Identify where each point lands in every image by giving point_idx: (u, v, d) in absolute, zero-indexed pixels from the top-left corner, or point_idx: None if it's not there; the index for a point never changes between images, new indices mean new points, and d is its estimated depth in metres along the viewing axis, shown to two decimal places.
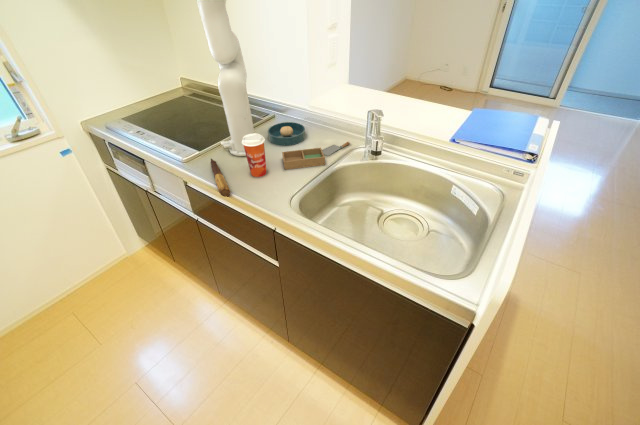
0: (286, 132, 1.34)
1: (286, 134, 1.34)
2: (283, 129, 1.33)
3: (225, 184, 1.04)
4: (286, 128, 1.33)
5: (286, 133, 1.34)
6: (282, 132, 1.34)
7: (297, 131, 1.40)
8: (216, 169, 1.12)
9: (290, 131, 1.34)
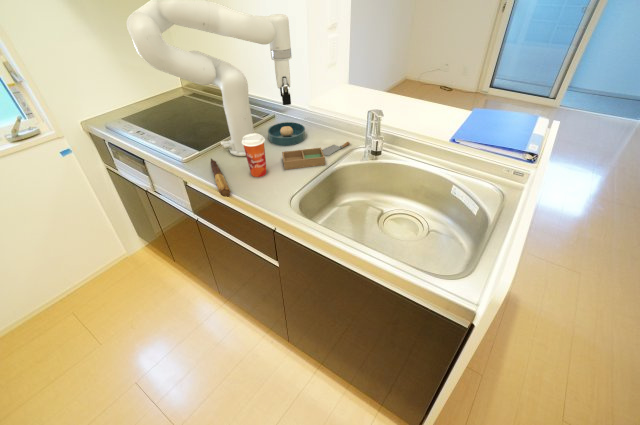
0: (286, 132, 1.34)
1: (286, 134, 1.34)
2: (283, 129, 1.33)
3: (225, 184, 1.04)
4: (286, 128, 1.33)
5: (286, 133, 1.34)
6: (282, 132, 1.34)
7: (297, 131, 1.40)
8: (216, 169, 1.12)
9: (290, 131, 1.34)
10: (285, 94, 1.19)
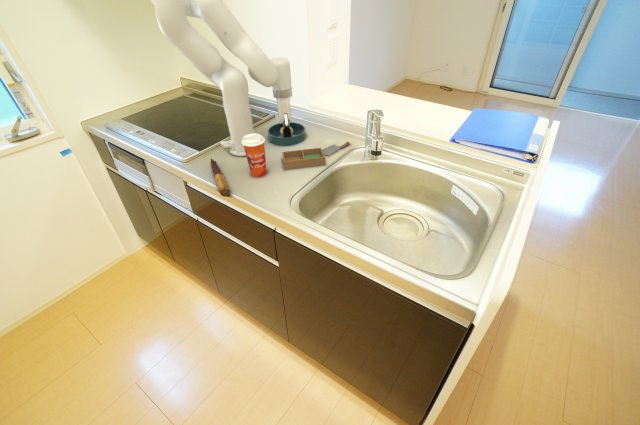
0: None
1: None
2: None
3: (225, 184, 1.04)
4: None
5: None
6: (282, 132, 1.34)
7: (297, 131, 1.40)
8: (216, 169, 1.12)
9: None
10: (286, 129, 1.31)
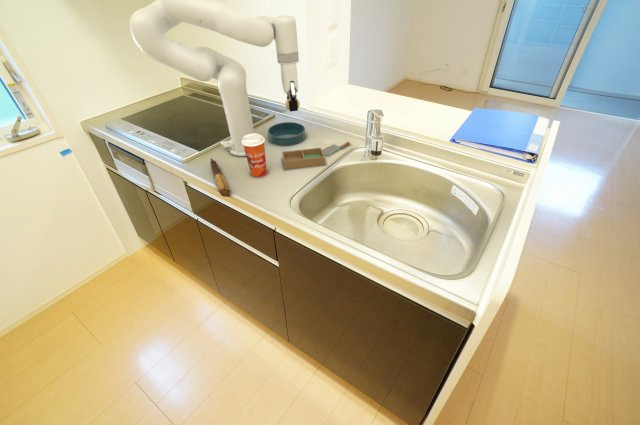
0: None
1: None
2: None
3: (225, 184, 1.04)
4: None
5: None
6: (288, 104, 1.19)
7: (297, 131, 1.40)
8: (216, 169, 1.12)
9: None
10: (292, 100, 1.16)
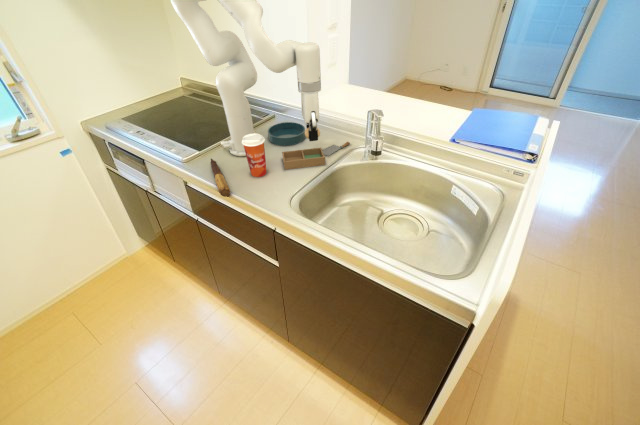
0: None
1: None
2: None
3: (225, 184, 1.04)
4: None
5: None
6: (307, 134, 1.11)
7: (297, 131, 1.40)
8: (216, 169, 1.12)
9: None
10: (312, 130, 1.08)
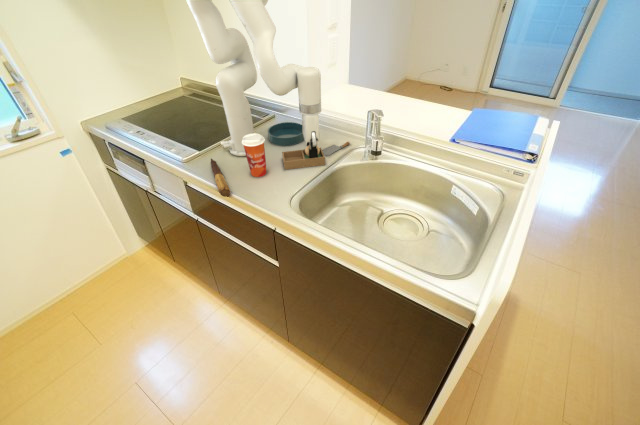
0: None
1: None
2: None
3: (225, 184, 1.04)
4: None
5: None
6: (308, 152, 1.16)
7: (297, 131, 1.40)
8: (216, 169, 1.12)
9: None
10: (312, 149, 1.13)
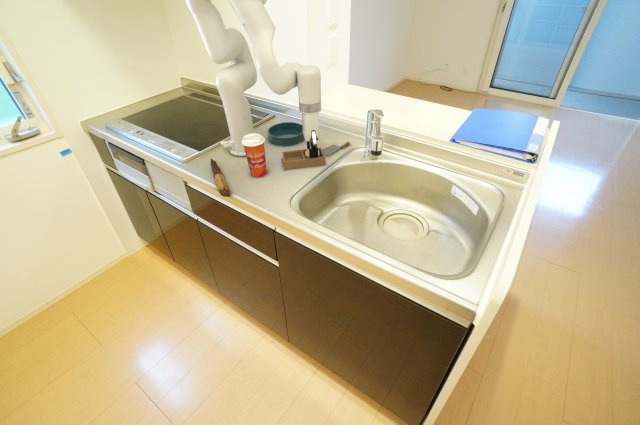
0: None
1: None
2: None
3: (225, 184, 1.04)
4: None
5: None
6: (308, 155, 1.17)
7: (297, 131, 1.40)
8: (216, 169, 1.12)
9: None
10: (313, 148, 1.12)
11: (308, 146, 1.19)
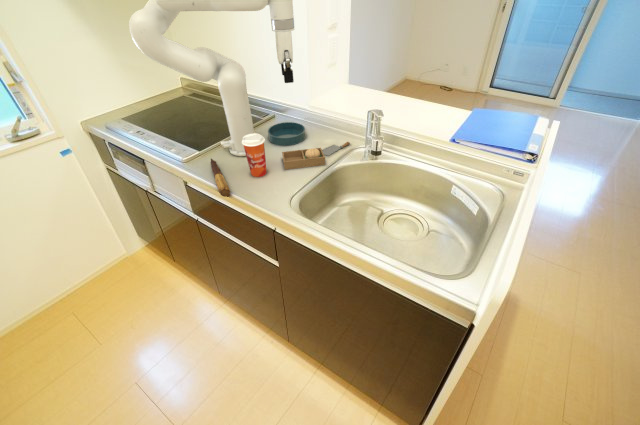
0: (312, 156, 1.17)
1: None
2: (309, 153, 1.16)
3: (225, 184, 1.04)
4: (313, 152, 1.16)
5: (312, 157, 1.17)
6: (308, 156, 1.17)
7: (297, 131, 1.40)
8: (216, 169, 1.12)
9: (317, 155, 1.17)
10: (287, 70, 1.08)
11: (283, 70, 1.18)
